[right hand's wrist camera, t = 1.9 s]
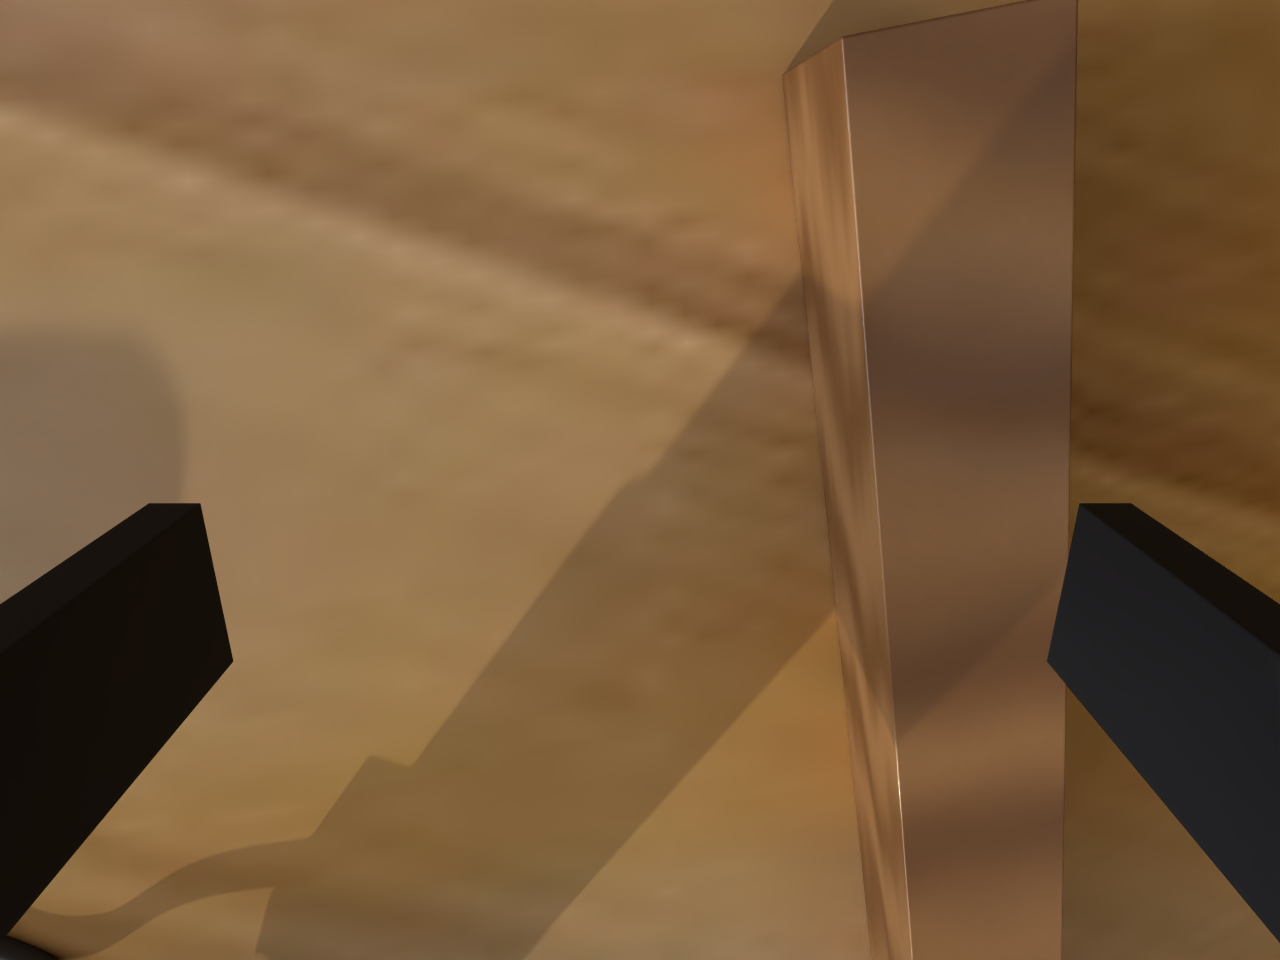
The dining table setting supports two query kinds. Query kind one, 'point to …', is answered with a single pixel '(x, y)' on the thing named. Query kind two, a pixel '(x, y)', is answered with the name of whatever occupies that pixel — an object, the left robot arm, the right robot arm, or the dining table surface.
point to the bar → (947, 455)
